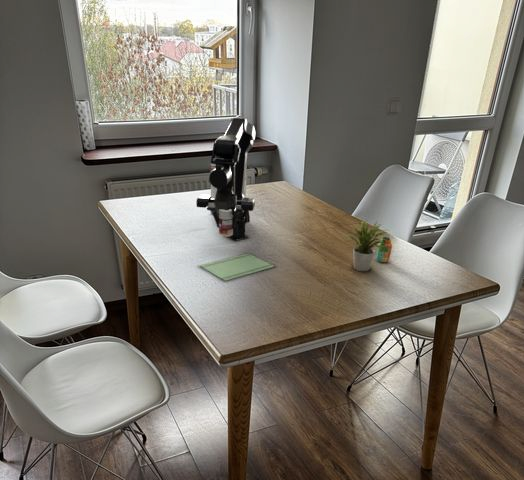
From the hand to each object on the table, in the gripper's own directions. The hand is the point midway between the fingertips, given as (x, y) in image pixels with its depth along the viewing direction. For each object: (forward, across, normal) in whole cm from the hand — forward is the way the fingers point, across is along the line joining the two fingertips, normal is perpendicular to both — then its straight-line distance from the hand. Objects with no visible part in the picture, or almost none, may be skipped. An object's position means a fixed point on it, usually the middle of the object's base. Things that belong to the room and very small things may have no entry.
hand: (225, 227), depth 175 cm
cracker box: (+9, -6, +43) cm, 44 cm away
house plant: (+9, +47, -5) cm, 48 cm away
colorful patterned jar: (+9, +54, +4) cm, 55 cm away
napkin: (+9, +6, -11) cm, 15 cm away
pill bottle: (+2, 0, 0) cm, 2 cm away
